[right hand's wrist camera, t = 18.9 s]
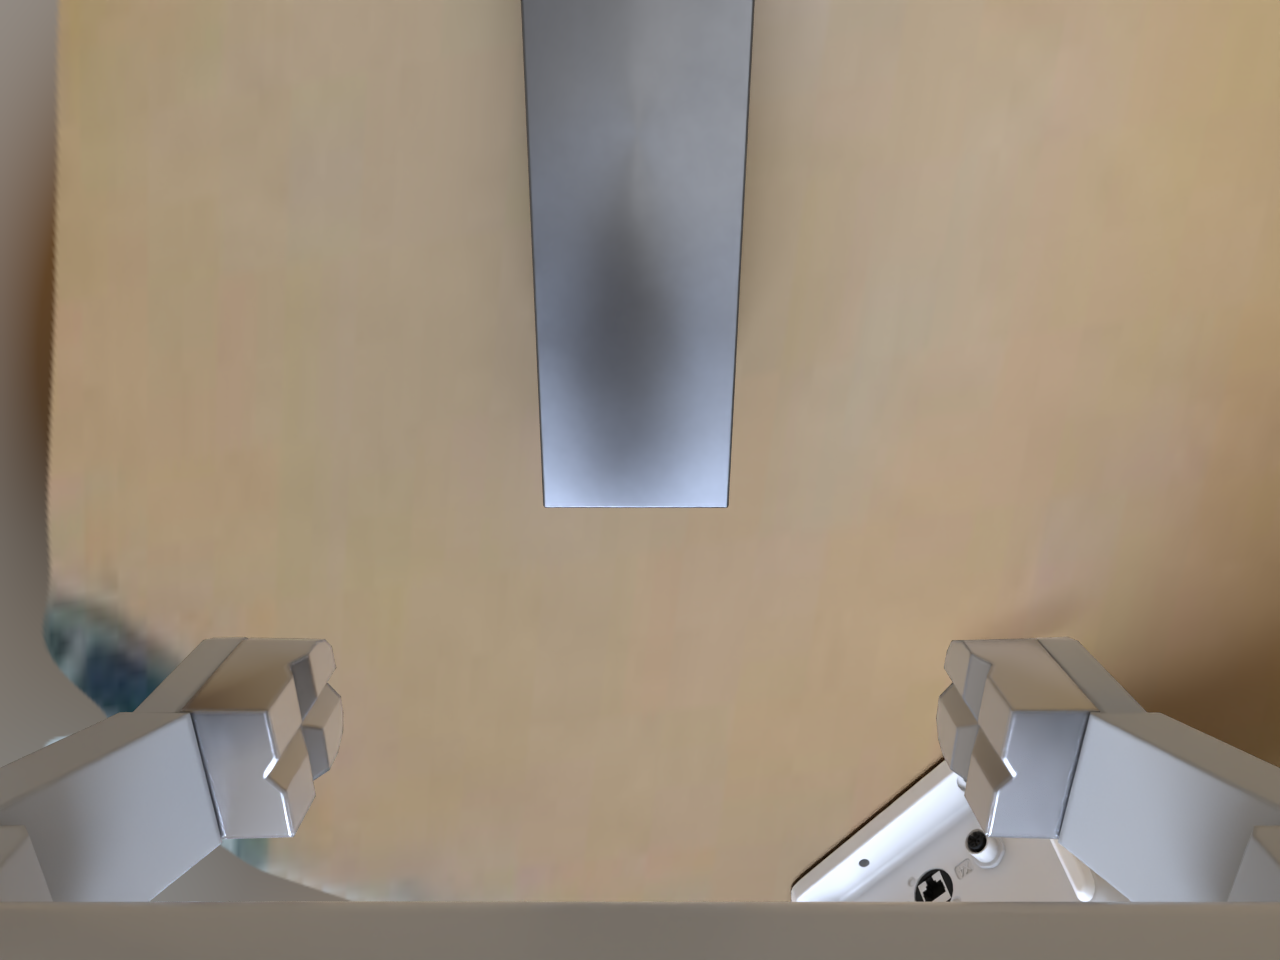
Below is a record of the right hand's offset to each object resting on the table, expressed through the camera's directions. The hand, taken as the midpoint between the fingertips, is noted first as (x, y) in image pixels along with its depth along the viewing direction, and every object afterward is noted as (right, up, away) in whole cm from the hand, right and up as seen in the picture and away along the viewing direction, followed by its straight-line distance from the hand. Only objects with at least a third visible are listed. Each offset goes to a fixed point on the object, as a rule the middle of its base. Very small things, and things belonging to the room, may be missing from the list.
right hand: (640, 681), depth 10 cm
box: (0, +16, +20) cm, 26 cm away
